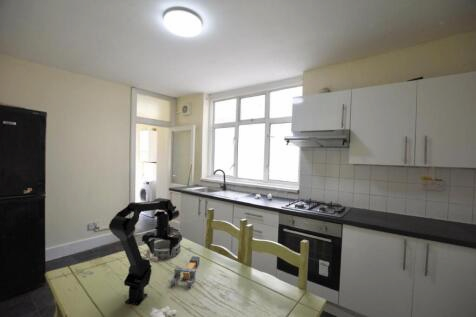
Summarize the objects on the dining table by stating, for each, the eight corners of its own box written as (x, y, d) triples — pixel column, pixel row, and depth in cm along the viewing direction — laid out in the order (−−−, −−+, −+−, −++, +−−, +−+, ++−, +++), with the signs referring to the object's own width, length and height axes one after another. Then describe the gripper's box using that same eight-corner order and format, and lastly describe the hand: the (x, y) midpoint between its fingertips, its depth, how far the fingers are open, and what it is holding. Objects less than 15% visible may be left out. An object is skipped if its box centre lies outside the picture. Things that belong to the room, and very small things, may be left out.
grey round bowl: (172, 260, 126) (172, 252, 126) (144, 257, 129) (144, 249, 129) (184, 248, 144) (185, 240, 144) (159, 245, 147) (159, 238, 147)
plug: (189, 279, 108) (190, 271, 108) (181, 278, 108) (182, 270, 108) (199, 263, 124) (199, 256, 124) (192, 262, 124) (192, 256, 124)
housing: (191, 287, 101) (191, 275, 101) (170, 285, 102) (171, 273, 102) (195, 279, 107) (195, 269, 107) (176, 277, 109) (176, 267, 108)
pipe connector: (160, 263, 122) (161, 246, 122) (152, 272, 112) (152, 253, 112) (144, 262, 123) (144, 244, 123) (134, 271, 113) (134, 252, 113)
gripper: (186, 220, 114) (185, 249, 114) (153, 217, 116) (152, 246, 116) (178, 227, 103) (177, 259, 103) (141, 224, 105) (140, 256, 105)
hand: (161, 254), depth 107 cm, fingers open, 9 cm apart
